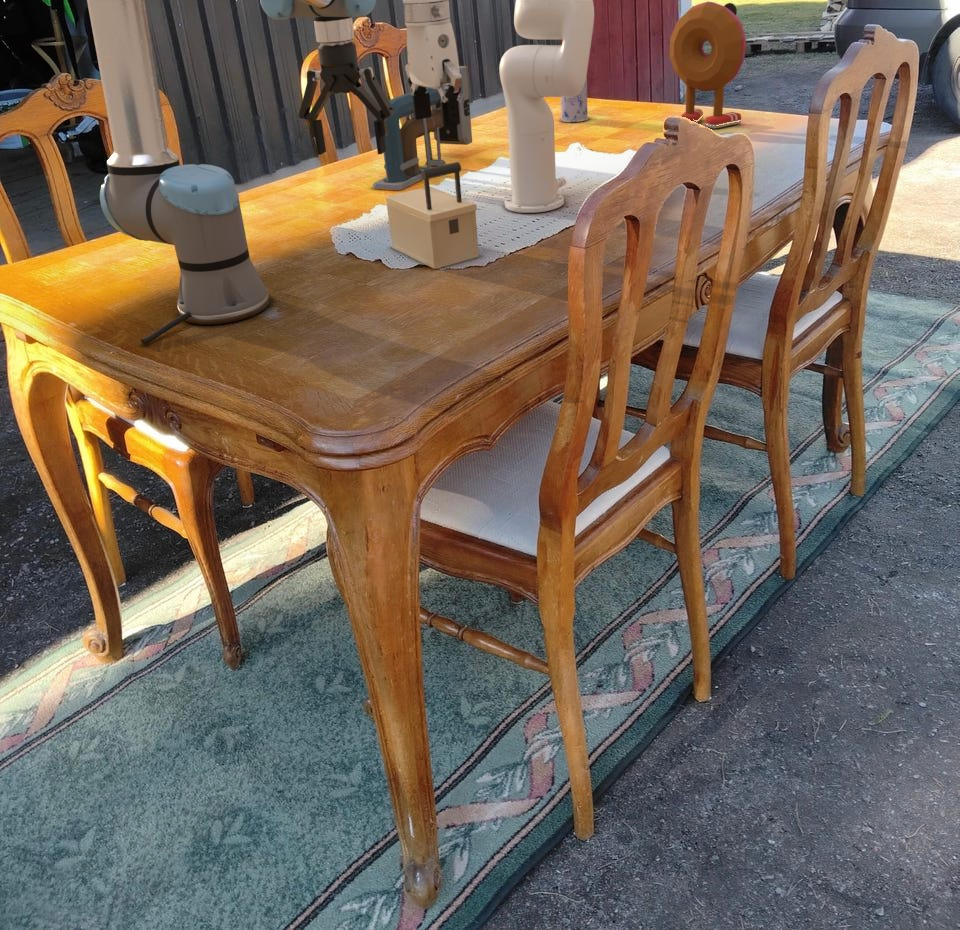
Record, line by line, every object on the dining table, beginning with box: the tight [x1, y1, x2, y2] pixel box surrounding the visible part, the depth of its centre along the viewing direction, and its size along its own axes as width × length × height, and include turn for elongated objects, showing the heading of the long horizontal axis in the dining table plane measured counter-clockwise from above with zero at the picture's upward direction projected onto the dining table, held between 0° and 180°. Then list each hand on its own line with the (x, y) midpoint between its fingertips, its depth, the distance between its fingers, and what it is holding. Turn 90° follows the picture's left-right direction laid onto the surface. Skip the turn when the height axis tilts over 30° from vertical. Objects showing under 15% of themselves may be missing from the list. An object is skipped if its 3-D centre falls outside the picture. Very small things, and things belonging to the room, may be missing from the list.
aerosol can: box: [560, 75, 589, 123], centre depth 273 cm, size 8×8×20 cm
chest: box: [386, 202, 480, 270], centre depth 182 cm, size 17×10×9 cm, turn 32°
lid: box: [385, 161, 478, 222], centre depth 177 cm, size 17×10×8 cm, turn 32°
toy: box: [669, 1, 747, 129], centre depth 252 cm, size 21×10×30 cm, turn 47°
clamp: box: [371, 65, 473, 191], centre depth 234 cm, size 35×9×21 cm, turn 151°
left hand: (351, 153), depth 201 cm, fingers open, 13 cm apart
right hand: (437, 121), depth 167 cm, fingers open, 9 cm apart
